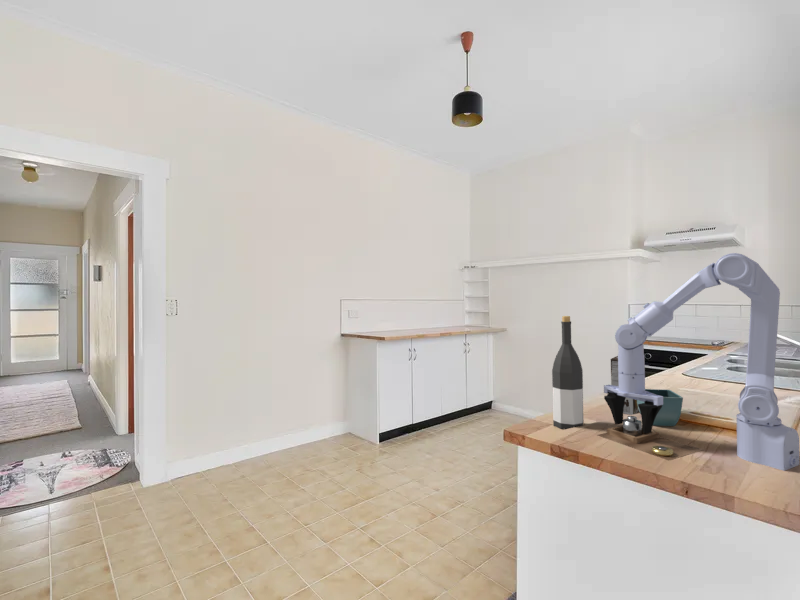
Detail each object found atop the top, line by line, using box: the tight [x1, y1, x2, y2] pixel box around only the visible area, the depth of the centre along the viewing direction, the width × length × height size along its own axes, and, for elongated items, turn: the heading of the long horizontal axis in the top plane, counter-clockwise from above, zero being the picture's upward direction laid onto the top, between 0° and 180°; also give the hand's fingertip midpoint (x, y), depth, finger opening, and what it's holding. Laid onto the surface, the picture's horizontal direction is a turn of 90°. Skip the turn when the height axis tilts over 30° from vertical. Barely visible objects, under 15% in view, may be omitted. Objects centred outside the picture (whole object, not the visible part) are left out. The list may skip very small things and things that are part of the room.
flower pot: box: [637, 388, 684, 427], centre depth 114 cm, size 9×9×9 cm
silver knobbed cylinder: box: [622, 415, 642, 437], centre depth 104 cm, size 4×4×5 cm
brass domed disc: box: [652, 446, 673, 457], centre depth 93 cm, size 4×4×1 cm
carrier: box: [597, 424, 704, 461], centre depth 100 cm, size 18×12×2 cm, turn 25°
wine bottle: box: [551, 315, 585, 430], centre depth 116 cm, size 8×8×30 cm
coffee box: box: [610, 355, 639, 416], centre depth 129 cm, size 9×6×16 cm
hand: (632, 427), depth 104 cm, fingers open, 7 cm apart
